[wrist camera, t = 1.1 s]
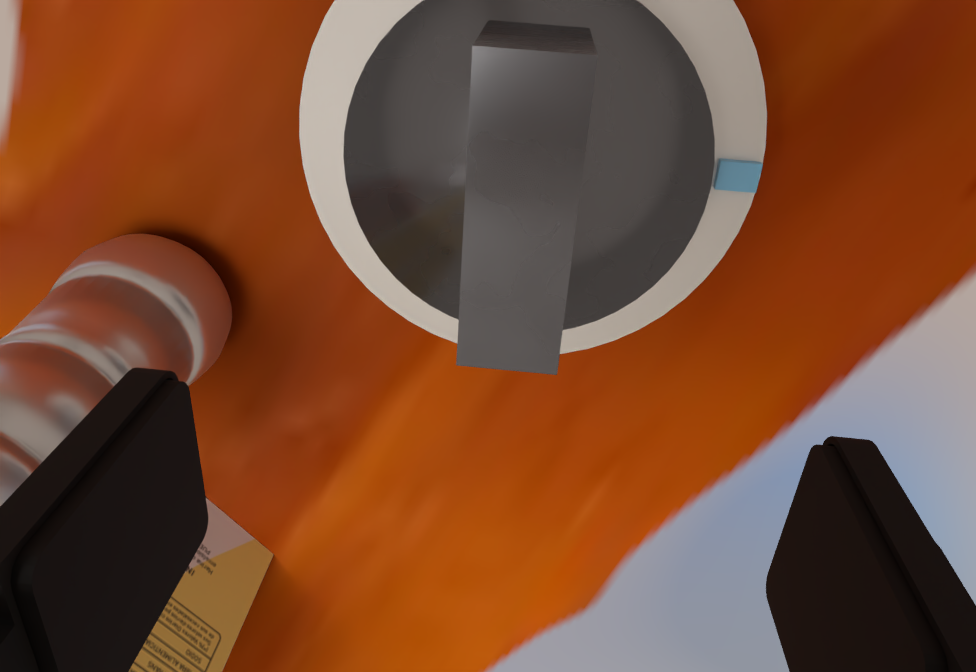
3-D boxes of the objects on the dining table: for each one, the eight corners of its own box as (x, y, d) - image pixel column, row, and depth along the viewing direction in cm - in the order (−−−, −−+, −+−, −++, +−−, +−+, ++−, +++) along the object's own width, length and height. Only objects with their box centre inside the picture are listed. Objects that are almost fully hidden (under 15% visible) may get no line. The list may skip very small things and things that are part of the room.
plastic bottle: (109, 192, 31) (-451, 542, 14) (265, 257, 32) (-76, 661, 15) (87, 316, 34) (-395, 731, 17) (230, 372, 35) (-88, 821, 18)
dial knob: (349, -51, 23) (282, -39, 17) (743, -21, 23) (805, 1, 17) (357, 299, 29) (309, 392, 23) (670, 328, 29) (699, 430, 23)
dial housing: (311, -126, 25) (280, -131, 22) (797, -91, 25) (829, -92, 22) (330, 302, 33) (309, 339, 30) (698, 336, 32) (712, 377, 30)
